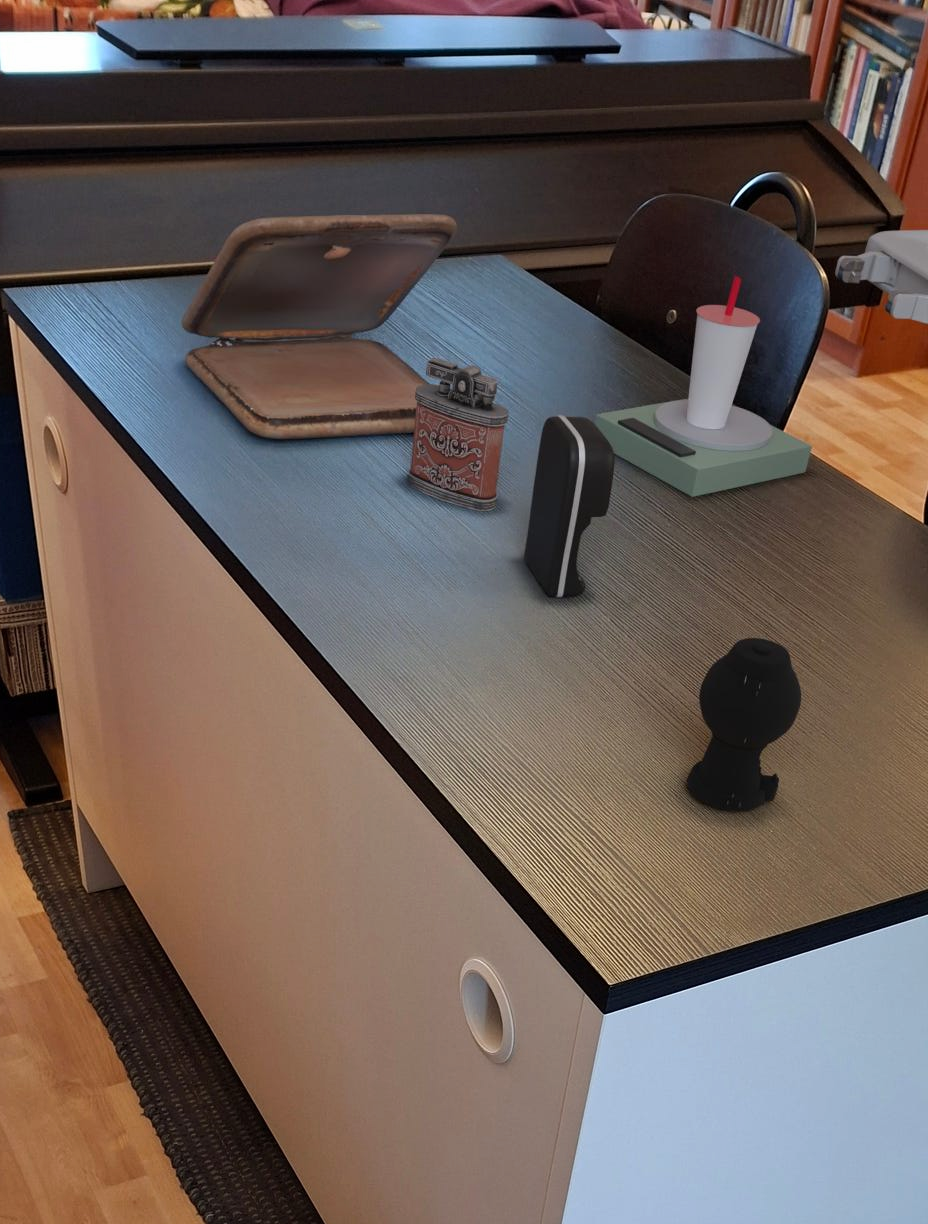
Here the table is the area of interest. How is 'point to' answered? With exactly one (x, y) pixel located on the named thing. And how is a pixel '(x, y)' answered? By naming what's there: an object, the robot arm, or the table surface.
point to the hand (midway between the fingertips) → (864, 286)
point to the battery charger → (566, 499)
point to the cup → (718, 360)
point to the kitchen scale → (702, 447)
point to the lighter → (457, 436)
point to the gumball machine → (744, 723)
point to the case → (313, 322)
